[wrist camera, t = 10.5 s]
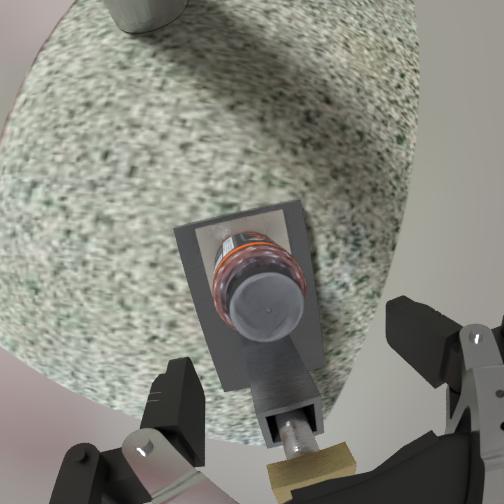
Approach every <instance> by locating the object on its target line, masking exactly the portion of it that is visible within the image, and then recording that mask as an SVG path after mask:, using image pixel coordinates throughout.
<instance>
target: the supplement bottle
mask: <svg viewBox="0 0 504 504" xmlns="http://www.w3.org/2000/svg"><path fill="white" fill-rule="evenodd" d="M212 294H213V300H214V305H215V307H216V310H217V312H218V314H219V315H220V317H221V318H222V319H223V320H224V321H225V322H226V323H227V324H228V325H229V326H230V327H232V328H233V329H235V330H237V331H238V332H239V333H240V334H241V335H243V336H244V337H246V338H248V339H250V340H252V341H257V342H272V341H276V340H279V339H281V338H283V337H285V336H287V335H288V334H290V333H291V332H292V331H293V330H294V329H295V328H296V327H297V325H298V324H299V322H300V321H301V318H302V316H303V313H304V305H305V304H304V301H305V297H306V279H305V275H304V273H303V271H302V268H301V266H300V265H299V263H298V262H297V260H296V259H295V258H294V257H293V256H292V255H291V254H289V253H288V252H287V251H286V250H285V249H284V248H282V247H281V246H279V245H278V244H277V243H275V242H274V241H273V240H271V239H270V238H269V237H267V236H266V235H263V234H261V233H258V232H252V231H244V232H239V233H236V234H234V235H232V236H230V237H229V238H228V239H226V240H225V241H224V242H223V243H222V245H221V246H220V248H219V249H218V252H217V254H216V258H215V264H214V275H213V287H212Z"/></svg>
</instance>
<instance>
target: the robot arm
mask: <svg viewBox="0 0 504 504" xmlns="http://www.w3.org/2000/svg"><path fill="white" fill-rule="evenodd" d="M102 1H103V3H104V5H105V6H106V8H107V10H108V12H109V13H110V15H111V17H112V19H113V20H114V22H115V24H116V25H117V26H118V28H119V29H121V30H123V31H126V32H131V33H140V32H147V31H151V30H154V29H157V28H160V27H162V26H164V25H166V24H168V23H170V22H171V21H173V20H174V19H176V18H177V17H178V16H179V15H180V14H181V13H182V12H183V11H184V9H185V7H186V5H187V0H102ZM386 339H387V342H388V344H389V345H390V346H391V348H392V349H394V350H395V351H396V352H397V353H398V354H399V355H400V356H401V357H402V358H403V359H404V360H405V361H406V362H408V363H409V364H410V365H411V366H412V367H413V368H414V369H415V370H416V371H417V372H418V373H419V374H420V375H421V376H422V377H423V378H424V379H426V381H428V382H429V383H430V384H431V385H432V386H433V387H434V388H435V389H436V388H438V387H439V386H441V385H442V384H444V383H445V382H446V383H447V384H448V386H447V389H446V411H447V412H446V429H445V434H444V435H441V436H438V437H437V436H436V435H435V434H434V432H433V431H432V430H431V431H429V432H427V433H426V434H424V435H423V436H421V437H419V438H418V439H416V440H414V441H412V442H411V443H409V444H407V445H405V446H403V447H402V448H401V449H400V450H398V451H397V452H396V453H395V454H394V455H392V456H391V457H390V458H389V459H387V460H386V461H385V462H384V463H382V464H381V465H380V466H378V467H377V468H376V469H374V470H372V471H370V472H366V473H361V474H356V475H351V476H345V477H339V478H332V479H328V480H325V481H322V482H319V483H315V484H312V485H309V486H305V487H302V488H298V489H294V490H290V491H291V495H292V499H290V500H288V501H286V502H284V503H282V504H504V316H503V320H502V324H501V326H499V327H496V328H494V329H489V328H488V327H487V326H485V325H481V324H470V325H467V326H465V327H463V326H461V325H459V324H458V323H456V322H454V321H453V320H451V319H449V318H448V317H446V316H445V315H442V314H441V313H440V312H438V311H435V310H434V309H433V308H431V307H429V306H428V305H425V304H422V303H418V302H414V301H413V300H411V299H409V298H408V297H406V296H400V297H397V298H395V299H392V300H390V301H388V302H387V303H386ZM147 401H148V402H147V403H146V407H145V410H144V414H143V418H142V421H141V425H140V429H139V430H136V431H134V432H132V433H131V434H130V435H128V436H127V437H126V439H125V440H124V441H123V444H122V447H121V448H117V449H113V450H109V451H105V452H100V451H98V449H97V448H96V447H95V446H94V445H92V444H90V443H80V444H77V445H75V446H73V447H71V448H70V449H69V450H68V451H67V453H66V455H65V457H64V459H63V462H62V465H61V468H60V471H59V474H58V476H57V479H56V483H55V486H54V489H53V492H52V495H51V499H50V502H49V504H143V503H147V502H152V503H153V504H239V503H238V502H236V501H235V500H234V499H233V498H231V497H230V496H229V495H227V494H226V493H225V492H224V491H223V490H221V489H220V488H219V487H218V486H216V485H215V484H214V483H213V482H212V481H211V480H210V479H209V478H207V477H206V476H205V475H204V474H203V473H202V472H200V471H197V470H196V469H195V467H202V466H205V395H204V391H203V387H202V385H201V383H200V380H199V378H198V376H197V373H196V371H195V368H194V366H193V364H192V361H191V359H190V358H189V357H184V358H178V359H172V360H169V363H168V367H167V371H166V373H165V374H159V376H158V377H157V378H156V379H155V380H154V382H153V383H152V386H151V389H150V394H149V396H148V400H147Z"/></svg>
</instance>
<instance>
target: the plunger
mask: <svg viewBox="0 0 504 504" xmlns="http://www.w3.org/2000/svg"><path fill="white" fill-rule="evenodd" d="M274 416H275V420H276V423H277V427H278V430H279V434H280V437H281V441H282V444H283V447H284V451H285V454H286V458H287V460H285V461H281V462H277V463H273V464H268V465H267V469H268V474H269V478H270V483H271V487H272V490H273V493H274V495H275V497H276V499H277V501H278V503H279V504H282V503H284V502H286V501H288V500H290V499H292V495H291V491H290V490H294V489H298V488H302V487H305V486H309V485H312V484H315V483H319V482H322V481H325V480H328V479H332V478H339V477H345V476H351V475H355V471H356V461H355V460H354V458H353V456H352V454H351V452H350V450H349V448H348V446H347V445H346V443H345V442H343V443H340V444H337V445H334V446H332V447H329V448H326V449H323V450H319V447H318V445H317V443H316V440H315V438H314V435H313V433H312V430H311V428H310V426H309V423H308V421H307V418H306V416H305V414H304V411H303V409H302V407H301V408H297V409H294V410H290V411H287V412H283V413H279V414H275V415H274Z"/></svg>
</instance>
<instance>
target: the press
mask: <svg viewBox="0 0 504 504" xmlns="http://www.w3.org/2000/svg"><path fill="white" fill-rule="evenodd" d="M244 231H252V232H258V233H261V234H263V235H266V236H267V237H269V238H270V239H271V240H273V241H274V242H275V243H277V244H278V245H279V246H281V247H282V248H284V249H285V250H286V251H287V252H288V253H289V254H291V255H292V256H293V257H294V258H295V259H296V260H297V262H298V263H299V265H300V266H301V268H302V271H303V273H304V275H305V279H306V297H305V301H304V304H305V305H304V313H303V316H302V318H301V321H300V322H299V324H298V325H297V327H296V328H295V329H294V330H293V331H292V332H291V333H290V334H288V335H287V336H285V337H283V338H281V339H279V340H276V341H272V342H257V341H252V340H250V339H248V338H246V337H244V336H243V335H241V334H240V333H239V332H238V331H237V330H235V329H233V328H232V327H230V326H229V325H228V324H227V323H226V322H225V321H224V320H223V319H222V318H221V317H220V315H219V314H218V312H217V310H216V307H215V305H214V300H213V294H212V287H213V275H214V264H215V258H216V254H217V252H218V249H219V248H220V246H221V245H222V243H223V242H224V241H225V240H226V239H228V238H229V237H230V236H232V235H234V234H236V233H239V232H244ZM174 233H175V237H176V241H177V245H178V249H179V253H180V256H181V260H182V264H183V267H184V271H185V274H186V278H187V282H188V285H189V288H190V292H191V295H192V298H193V302H194V305H195V308H196V312H197V315H198V318H199V321H200V324H201V327H202V330H203V333H204V336H205V339H206V342H207V345H208V348H209V351H210V354H211V357H212V360H213V363H214V365H215V368H216V371H217V374H218V376H219V379H220V382H221V385H222V387H223V390H224V392H228V391H233V390H238V389H243V388H247V387H251V392H252V397H253V402H254V407H255V412H256V416H257V419H258V422H259V425H260V428H261V431H262V434H263V437H264V440H265V442H266V445H267V448H272V447H276V446H281V445H283V444H282V441H281V437H280V434H279V430H278V427H277V423H276V420H275V416H274V415H275V414H279V413H283V412H287V411H290V410H294V409H297V408H301V407H302V409H303V411H304V414H305V416H306V418H307V421H308V423H309V426H310V428H311V430H312V433H313V435H314V436H316V435H319V434H322V433H324V426H323V414H322V403H321V395H320V393H319V391H318V389H317V388H316V386H315V384H314V382H313V380H312V378H311V376H310V374H309V372H308V371H311V370H314V369H317V368H320V367H323V366H325V362H324V352H323V343H322V334H321V325H320V317H319V310H318V302H317V295H316V288H315V281H314V274H313V268H312V262H311V255H310V249H309V243H308V238H307V232H306V226H305V221H304V216H303V210H302V205H301V200H291V201H286V202H281V203H276V204H271V205H267V206H262V207H257V208H253V209H248V210H244V211H239V212H235V213H230V214H226V215H222V216H218V217H213V218H209V219H205V220H201V221H197V222H193V223H189V224H185V225H181V226H177V227H175V228H174Z"/></svg>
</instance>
